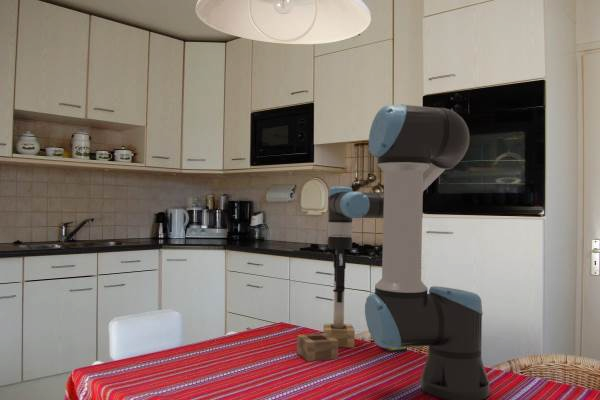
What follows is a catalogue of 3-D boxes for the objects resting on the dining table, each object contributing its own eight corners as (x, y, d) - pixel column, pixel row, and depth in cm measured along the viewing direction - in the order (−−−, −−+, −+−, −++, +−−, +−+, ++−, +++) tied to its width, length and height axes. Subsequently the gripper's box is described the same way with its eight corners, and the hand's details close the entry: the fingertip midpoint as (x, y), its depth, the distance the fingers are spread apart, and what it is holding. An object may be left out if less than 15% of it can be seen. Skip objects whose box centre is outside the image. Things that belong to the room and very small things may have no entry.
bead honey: (354, 347, 152) (354, 330, 152) (324, 346, 152) (324, 330, 152) (351, 339, 161) (351, 324, 161) (323, 339, 161) (323, 323, 161)
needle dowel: (344, 328, 155) (344, 282, 155) (333, 328, 155) (334, 282, 155) (343, 325, 158) (344, 281, 159) (333, 325, 158) (333, 281, 159)
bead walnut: (338, 358, 140) (338, 340, 140) (307, 361, 137) (308, 342, 137) (325, 350, 148) (325, 333, 148) (296, 352, 145) (297, 335, 145)
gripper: (354, 237, 149) (353, 317, 149) (349, 235, 165) (348, 306, 165) (329, 237, 149) (327, 316, 149) (326, 234, 165) (325, 306, 165)
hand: (338, 311), depth 157 cm, fingers closed on needle dowel, 3 cm apart
